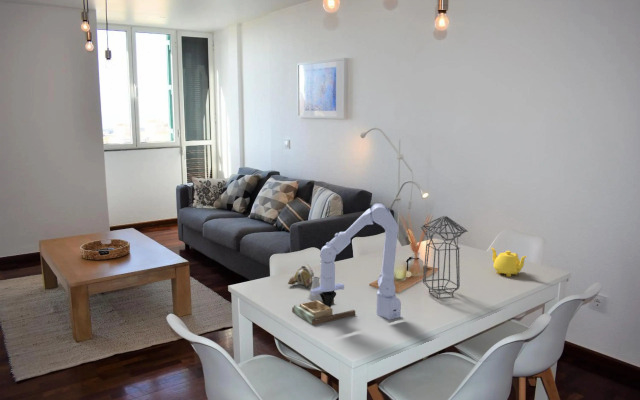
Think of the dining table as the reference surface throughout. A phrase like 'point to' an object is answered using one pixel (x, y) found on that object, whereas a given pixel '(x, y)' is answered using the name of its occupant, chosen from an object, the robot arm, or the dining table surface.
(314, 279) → the flask
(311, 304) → the light wooden drawer
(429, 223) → the geometric lantern
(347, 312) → the bay
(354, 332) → the dining table surface
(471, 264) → the dining table surface
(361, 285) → the dining table surface
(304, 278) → the ceramic sculpture
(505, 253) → the teapot
